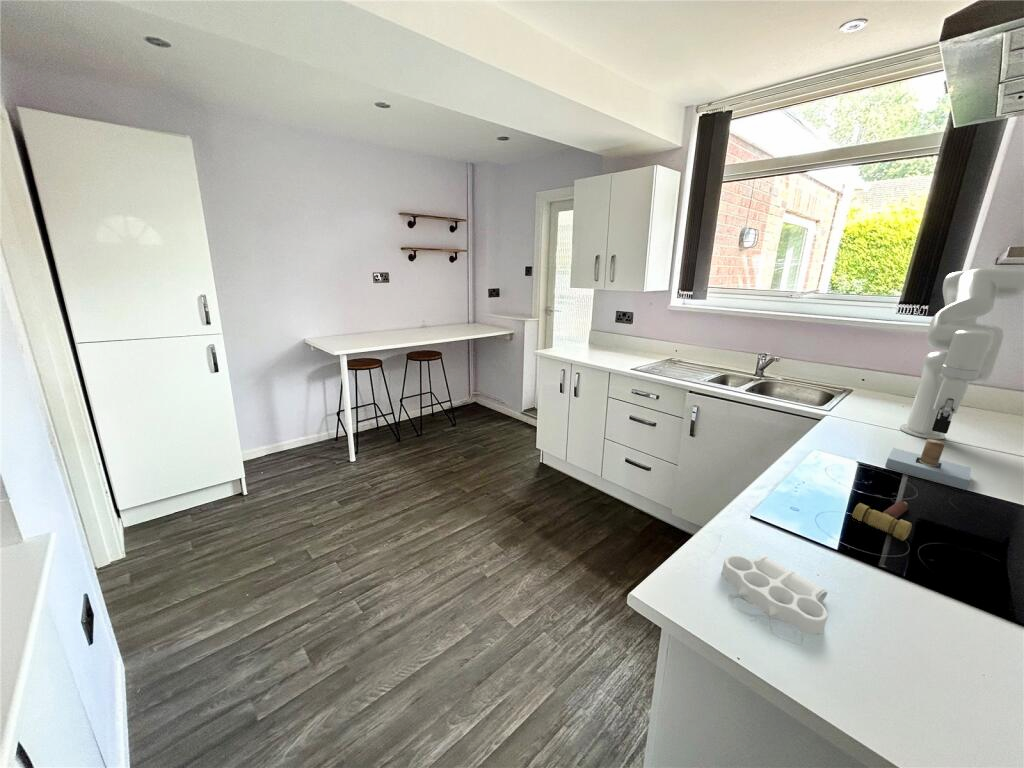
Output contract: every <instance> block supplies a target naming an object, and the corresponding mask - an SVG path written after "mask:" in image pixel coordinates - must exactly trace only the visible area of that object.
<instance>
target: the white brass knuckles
mask: <svg viewBox="0 0 1024 768" xmlns="http://www.w3.org/2000/svg"><path fill="white" fill-rule="evenodd" d="M738 569H739V570H738ZM721 570H722V571H721V575H722V578H723V579H724V581H726V582H729V583H730V584H731V585H733V587H735V588H736V589H737V591H738V592H737V594H739V595H740V596H742V598H744V599H745V600H746V601H747V602H749V603H751V604H754V605H756V606H757V607H758V606H759V607H758V608H759V609H761V610H762V611H763V613H764V614H766V615H769V616H770V617H771V618H774V619H775V620H780V621H782V622H783V621H784V622H786V623H788V624H791V625H792V626H794V627H795V628H796V629H798V630H799V631H800V632H802V633H804V634H808V635H819V634H818V633H820V634H822V633H823V632H824V631H825V630H824V629H825V628H826V627H825V626H826V623H827V619H828V611H827V610H826V608H825V606H824V605H823V604H822V603H823V602H824V600H826V598H827V596H828V591H826V589H825V588H822V587H821V586H818V585H816V584H814V583H813V582H811V580H810V581H809V580H808V579H806V578H805V577H802V576H801V575H799V574H798V573H796V572H795V571H793V570H791V569H789V568H787V567H785V565H782V564H780V563H779V562H777V561H775V560H774V559H772V558H770V557H769V556H767V555H765V554H761V555H759V556H758V557H757V558H755V559H752V558H751V559H750V558H746V557H744V556H742V555H735V554H733V555H728V556H726V557H725V558H724V560H723V565H722V569H721ZM780 602H781V603H780ZM822 631H823V632H822ZM821 632H822V633H821Z"/></svg>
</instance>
